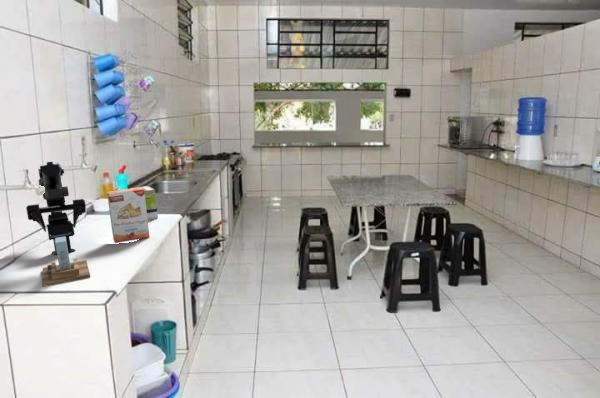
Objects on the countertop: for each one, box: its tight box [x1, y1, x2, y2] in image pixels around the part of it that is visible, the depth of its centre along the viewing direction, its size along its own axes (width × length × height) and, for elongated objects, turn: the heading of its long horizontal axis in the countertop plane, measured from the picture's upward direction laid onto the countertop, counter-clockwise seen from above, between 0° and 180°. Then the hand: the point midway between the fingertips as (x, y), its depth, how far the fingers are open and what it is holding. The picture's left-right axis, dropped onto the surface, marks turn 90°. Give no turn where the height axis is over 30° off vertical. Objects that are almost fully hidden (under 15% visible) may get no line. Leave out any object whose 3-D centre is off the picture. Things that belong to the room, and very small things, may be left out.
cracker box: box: [106, 187, 150, 244], centre depth 198 cm, size 14×6×21 cm, turn 117°
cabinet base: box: [41, 258, 91, 288], centre depth 162 cm, size 18×14×3 cm
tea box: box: [128, 185, 159, 221], centre depth 238 cm, size 15×10×15 cm, turn 30°
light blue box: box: [55, 236, 71, 271], centre depth 160 cm, size 8×3×11 cm, turn 27°
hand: (60, 228), depth 168 cm, fingers open, 9 cm apart
